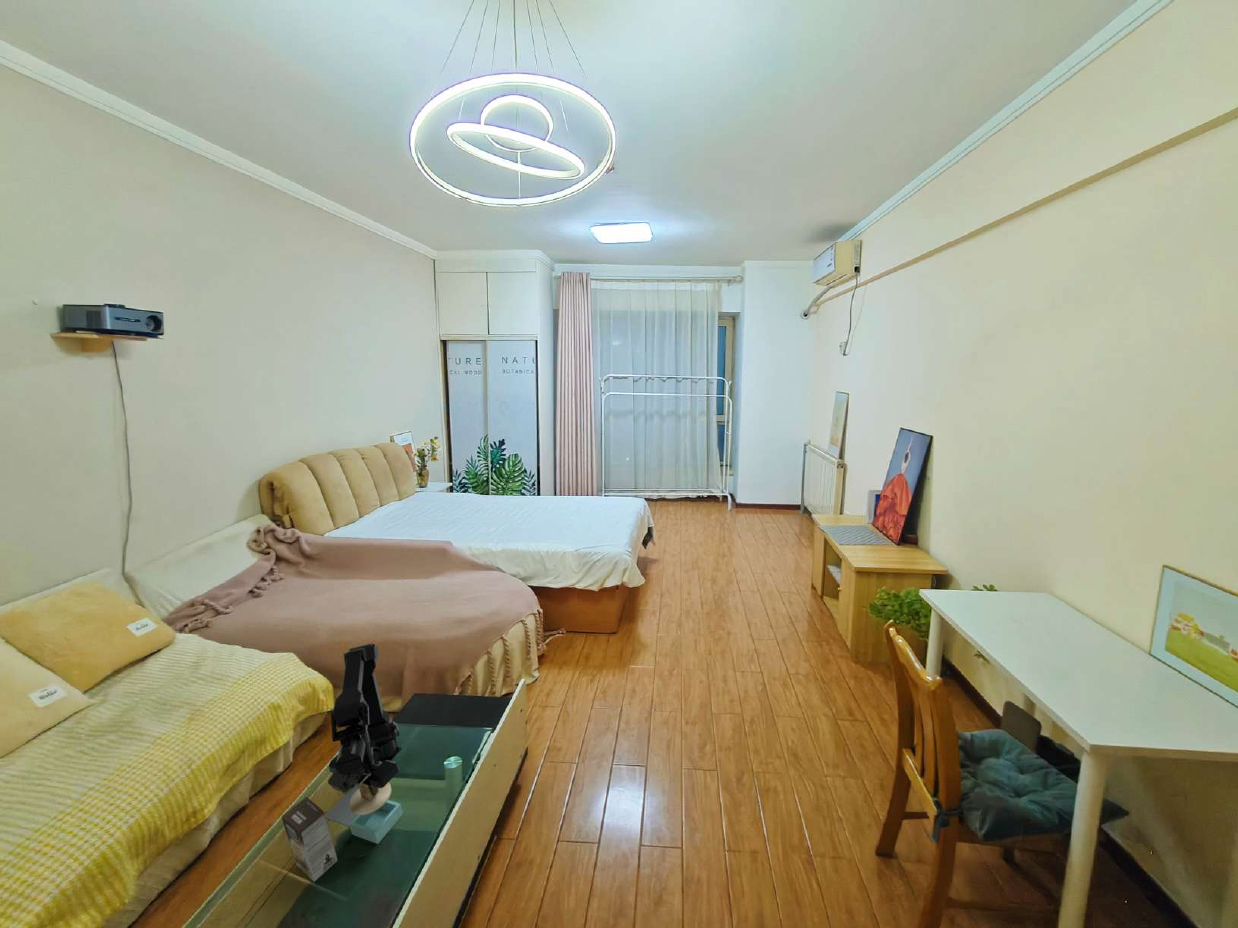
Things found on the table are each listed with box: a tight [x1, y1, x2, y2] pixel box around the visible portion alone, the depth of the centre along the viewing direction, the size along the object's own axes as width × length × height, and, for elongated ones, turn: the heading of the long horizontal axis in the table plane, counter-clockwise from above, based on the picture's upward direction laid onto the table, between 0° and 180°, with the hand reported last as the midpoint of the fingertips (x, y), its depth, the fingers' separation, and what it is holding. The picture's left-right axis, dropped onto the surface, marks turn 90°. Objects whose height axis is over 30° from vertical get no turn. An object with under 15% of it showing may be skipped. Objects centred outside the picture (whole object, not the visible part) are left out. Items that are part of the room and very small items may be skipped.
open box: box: [349, 799, 404, 845], centre depth 139 cm, size 9×9×4 cm
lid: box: [350, 776, 392, 815], centre depth 136 cm, size 10×10×5 cm
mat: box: [325, 784, 359, 828], centre depth 146 cm, size 12×10×1 cm
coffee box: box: [281, 796, 338, 882], centre depth 128 cm, size 9×6×16 cm
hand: (370, 792), depth 137 cm, fingers closed on lid, 3 cm apart
